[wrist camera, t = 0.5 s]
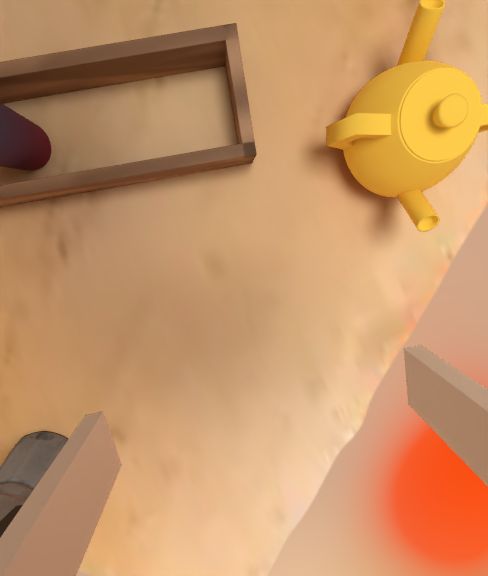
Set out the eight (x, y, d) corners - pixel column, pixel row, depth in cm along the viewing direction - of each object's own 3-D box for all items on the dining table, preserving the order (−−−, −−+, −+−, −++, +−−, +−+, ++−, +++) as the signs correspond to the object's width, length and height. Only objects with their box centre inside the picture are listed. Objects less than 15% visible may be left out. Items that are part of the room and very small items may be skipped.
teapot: (305, 52, 34) (342, -26, 23) (464, 36, 35) (574, -47, 24) (316, 237, 39) (351, 244, 28) (457, 220, 39) (546, 221, 28)
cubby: (-58, 100, 33) (-107, 79, 28) (234, 51, 34) (236, 22, 29) (-19, 210, 36) (-58, 208, 31) (252, 162, 36) (256, 154, 31)
